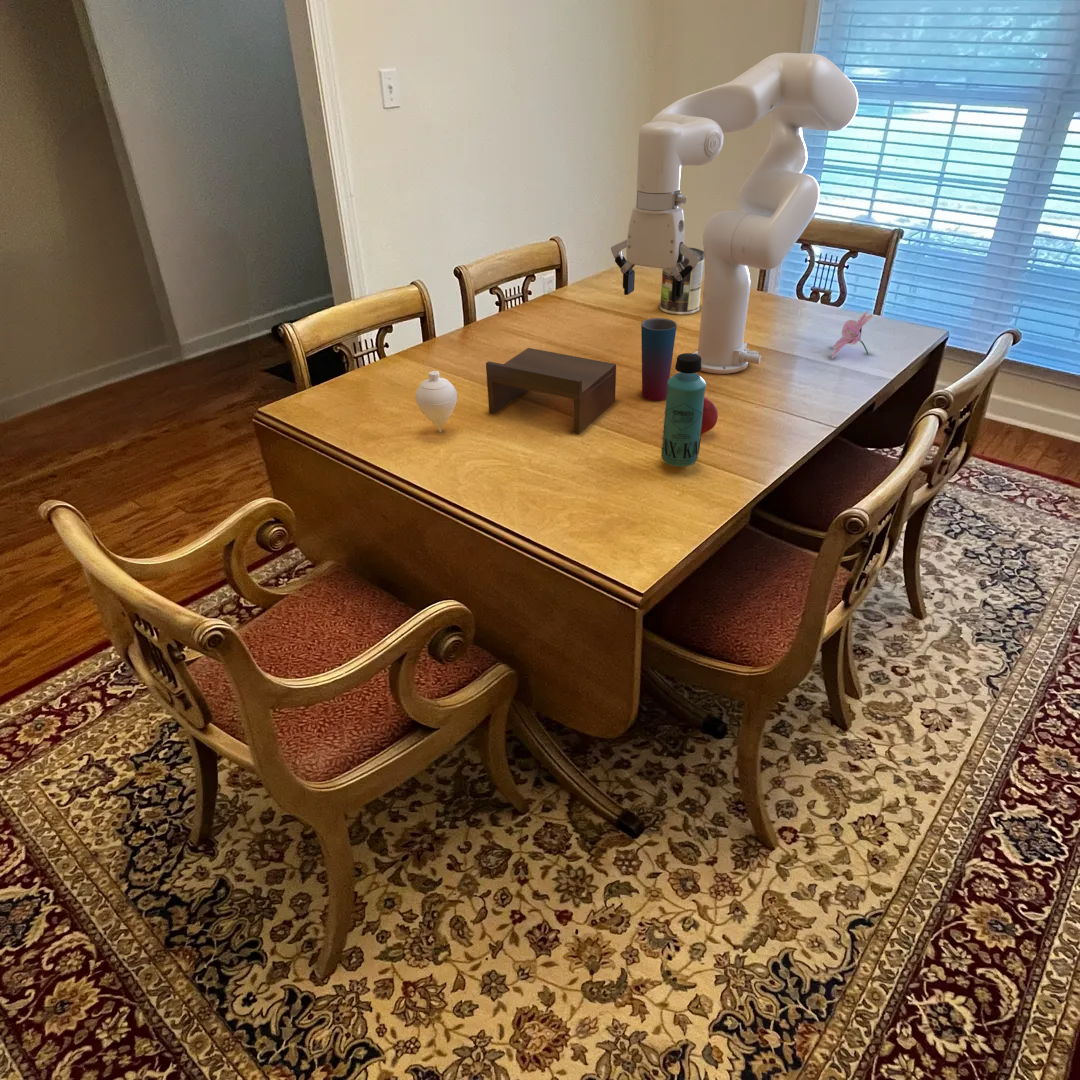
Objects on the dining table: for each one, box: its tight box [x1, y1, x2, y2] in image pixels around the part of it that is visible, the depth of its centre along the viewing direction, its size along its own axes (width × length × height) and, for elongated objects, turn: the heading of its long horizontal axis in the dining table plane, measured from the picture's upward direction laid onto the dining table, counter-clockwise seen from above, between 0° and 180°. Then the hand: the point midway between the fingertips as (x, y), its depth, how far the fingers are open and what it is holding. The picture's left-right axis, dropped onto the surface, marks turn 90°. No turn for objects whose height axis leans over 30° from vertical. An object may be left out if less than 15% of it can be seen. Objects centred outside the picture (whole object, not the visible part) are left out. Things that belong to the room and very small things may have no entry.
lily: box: [831, 309, 874, 359], centre depth 176 cm, size 12×12×10 cm
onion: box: [700, 395, 719, 436], centre depth 145 cm, size 6×6×8 cm
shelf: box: [485, 347, 617, 435], centre depth 156 cm, size 16×20×10 cm
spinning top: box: [415, 370, 458, 433], centre depth 148 cm, size 8×8×12 cm
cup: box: [640, 317, 678, 402], centre depth 158 cm, size 7×7×15 cm
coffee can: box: [659, 246, 705, 316], centre depth 202 cm, size 10×10×14 cm
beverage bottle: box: [660, 352, 707, 468], centre depth 132 cm, size 6×7×20 cm
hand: (652, 296), depth 151 cm, fingers open, 9 cm apart
